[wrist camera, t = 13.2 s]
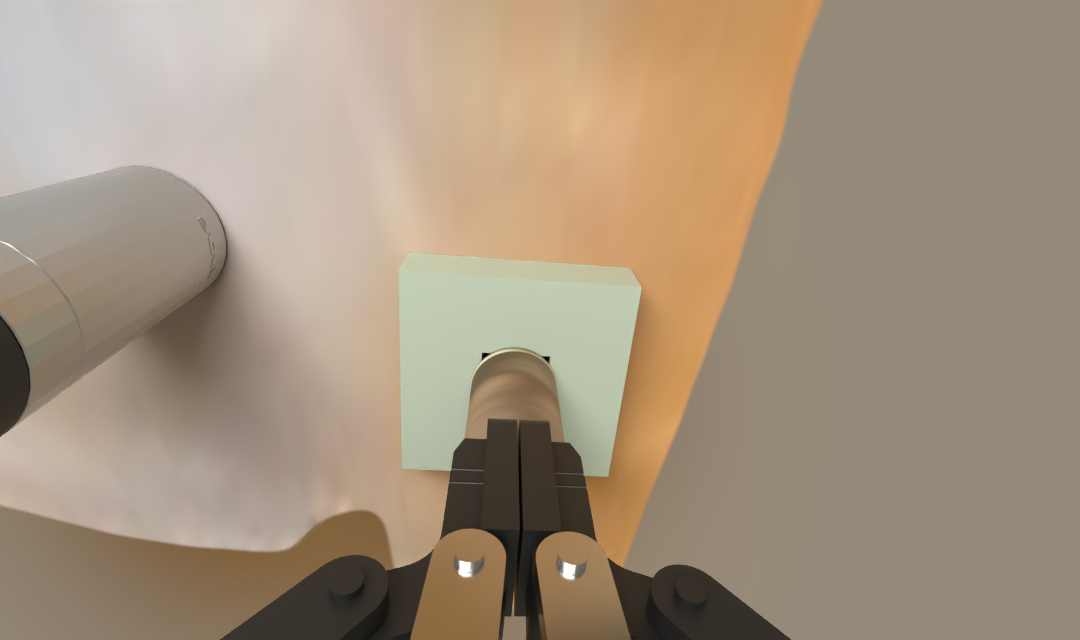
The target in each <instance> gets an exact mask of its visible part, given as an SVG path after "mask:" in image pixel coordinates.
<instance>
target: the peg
mask: <svg viewBox="0 0 1080 640" xmlns="http://www.w3.org/2000/svg"><path fill="white" fill-rule="evenodd" d="M470 389H471V392H470V400H469V409H468V417H467V425H466V433H465V438H472V439H487V424H488V418H495V419H517V426H519V420H541V421H549V423H550V431H551V440H552V442H564V435H563V428H562V421H561V415H560V408H559V401H558V394H557V383H556V377H555V373H554V371H553V369H552V367H551V366H550V364H549V363H548V362H547V361H546V360H545V359H544V358H543V357H542V356H540V355H539V354H537V353H535V352H534V351H531V350H528V349H524V348H518V347H510V348H504V349H500V350H497V351H494V352H492V353H491V354H489V355H487V356H486V357H485V358H484V359H483V360H481V362H480V363H479V364H478V365H477V367H476V368H475V370H474V372H473V375H472V379H471V386H470Z"/></svg>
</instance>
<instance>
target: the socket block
mask: <svg viewBox="0 0 1080 640" xmlns="http://www.w3.org/2000/svg"><path fill="white" fill-rule="evenodd" d="M641 289H642V287H641V285H640V283H639V282H638V280H637V279H636V277H635V275H634V274H633V272H632V270H631V269H630V268H626V267H612V266H598V265H583V264H569V263H555V262H541V261H527V260H513V259H498V258H484V257H470V256H456V255H442V254H428V253H413V252H409V253H408V255H407V257H406V259H405V260H404V262H403V264H402V266H401V268H400V269H399V322H400V383H401V445H402V469H418V470H444V471H451V466H452V460H453V453H454V451H455V449H456V448H457V447H458V446H459V444H460V443H461V442H462V441H463V439H464V438H465V433H466V425H467V417H468V409H469V400H470V392H471V389H470V386H471V379H472V375H473V372H474V370H475V368H476V367H477V365H478V364H479V363H480V362H481V360H483V353H492V352H494V351H497V350H500V349H504V348H510V347H518V348H524V349H528V350H531V351H534V352H535V353H537V354H539V355H540V356H544V359H545V360H546V361H547V362H548V363H549V364H550V366H551V367H552V369H553V371H554V373H555V377H556V383H557V394H558V401H559V408H560V415H561V421H562V428H563V435H564V442H567V443H570V444H571V445H572V446H573V447H574V449H575V450H576V451H577V452H578V454H579V455H580V456H581V460H582V466H583V471H584V476H600V477H608V475H609V469H610V464H611V458H612V452H613V447H614V441H615V436H616V430H617V424H618V419H619V413H620V408H621V402H622V396H623V391H624V385H625V379H626V374H627V368H628V363H629V357H630V351H631V346H632V340H633V334H634V329H635V323H636V318H637V312H638V306H639V301H640V295H641Z"/></svg>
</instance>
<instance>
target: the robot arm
mask: <svg viewBox="0 0 1080 640" xmlns="http://www.w3.org/2000/svg"><path fill="white" fill-rule="evenodd" d="M225 258H226V239H225V235H224V231H223V227H222V225H221V223H220V221H219V219H218V217H217V214H216V213H215V211H214V210H213V208H212V207H211V206H210V204H209V203H208V202H207V200H206V199H205V198H204V197H203V196H202V195H201V194H200V193H199V192H198V191H197V190H195V189H194V188H193V187H192V186H190V185H189V184H187V183H186V182H184V181H183V180H182V179H180V178H178V177H176V176H174V175H171V174H169V173H167V172H165V171H161V170H158V169H154V168H150V167H140V166H130V167H123V168H117V169H113V170H109V171H105V172H101V173H97V174H93V175H89V176H85V177H81V178H76V179H72V180H68V181H64V182H60V183H56V184H53V185H49V186H45V187H41V188H37V189H33V190H29V191H25V192H21V193H17V194H13V195H9V196H5V197H1V198H0V437H1V436H2V435H3V434H5V433H6V432H8V431H9V430H10V429H12V428H13V427H14V426H16V425H17V424H19V423H20V422H21V421H23V420H24V419H26V418H27V417H28V416H30V415H31V414H33V413H34V412H35V411H37V410H38V409H39V408H41V407H42V406H44V405H45V404H46V403H48V402H49V401H51V400H52V399H53V398H55V397H56V396H57V395H59V394H60V393H61V392H63V391H64V390H65V389H67V388H68V387H70V386H71V385H72V384H74V383H75V382H76V381H78V380H79V379H81V378H82V377H83V376H85V375H86V374H88V373H89V372H90V371H92V370H93V369H95V368H96V367H97V366H99V365H100V364H102V363H103V362H104V361H106V360H107V359H108V358H110V357H111V356H113V355H114V354H115V353H117V352H118V351H120V350H121V349H122V348H124V347H125V346H127V345H128V344H129V343H131V342H132V341H133V340H135V339H136V338H138V337H139V336H140V335H142V334H143V333H145V332H146V331H147V330H149V329H150V328H152V327H153V326H154V325H156V324H157V323H159V322H160V321H161V320H163V319H164V318H165V317H167V316H168V315H170V314H171V313H172V312H174V311H175V310H177V309H178V308H179V307H181V306H182V305H184V304H185V303H186V302H188V301H189V300H191V299H192V298H193V297H195V296H196V295H197V294H199V293H200V292H202V291H203V290H204V289H206V288H207V287H209V286H210V285H211V284H212V283H213V282H214V281H215V280H216V278H217V277H218V276H219V274H220V272H221V270H222V268H223V266H224V262H225ZM513 593H514V616H526V640H791V639H789V638H788V637H787V636H785V635H784V634H783V633H782V632H781V631H779V630H778V629H777V628H776V627H774V626H773V625H772V624H770V623H769V622H768V621H767V620H765V619H764V618H763V617H762V616H760V615H759V614H758V613H756V612H755V611H754V610H753V609H751V608H750V607H749V606H747V605H746V604H745V603H744V602H742V601H741V600H740V599H739V598H737V597H736V596H735V595H733V594H732V593H731V592H730V591H728V590H727V589H726V588H725V587H723V586H722V585H721V584H720V583H718V582H717V581H716V580H714V579H713V578H712V577H711V576H709V575H708V574H706V573H705V572H703V571H701V570H699V569H696V568H694V567H691V566H687V565H671V566H667V567H664V568H662V569H661V570H659V571H658V572H657V573H656V574H655V576H654V577H653V578H651V577H648V576H645V575H642V574H639V573H635V572H632V571H629V570H627V569H624V568H622V567H620V566H618V565H617V564H615V563H614V562H612V561H611V560H610V559H609V558H608V557H607V556H606V553H605V552H604V550H603V548H602V547H601V546H600V545H599V544H598V543H597V540H596V537H595V531H594V526H593V520H592V515H591V509H590V504H589V498H588V493H587V489H586V482H585V477H584V471H583V466H582V460H581V456H580V455H579V454H578V452H577V451H576V450H575V449H574V447H573V446H572V445H571V444H570V443H567V442H552V440H551V431H550V423H549V421H541V420H519V426H517V419H495V418H488V424H487V439H472V438H464V439H463V441H462V442H461V443H460V444H459V446H458V447H457V448H456V449H455V451H454V453H453V460H452V466H451V473H450V480H449V487H448V494H447V500H446V507H445V514H444V521H443V528H442V534H441V538H440V540H439V542H438V543H437V544H436V546H435V548H434V549H433V550H432V552H431V553H429V554H428V555H427V556H426V557H424V558H423V559H421V560H419V561H417V562H415V563H413V564H410V565H407V566H404V567H400V568H396V569H392V570H388V571H386V570H385V568H384V567H383V566H382V565H381V564H380V563H379V562H378V561H376V560H375V559H372V558H370V557H366V556H361V555H350V556H344V557H340V558H338V559H334V560H332V561H330V562H328V563H326V564H325V565H324V566H322V567H320V568H319V569H318V570H316V571H315V572H313V573H312V574H311V575H309V576H308V577H306V578H305V579H304V580H302V581H301V582H299V583H298V584H297V585H295V586H294V587H293V588H291V589H290V590H288V591H287V592H286V593H284V594H283V595H281V596H280V597H279V598H277V599H276V600H274V601H273V602H272V603H270V604H269V605H268V606H266V607H265V608H263V609H262V610H261V611H259V612H258V613H256V614H255V615H254V616H252V617H251V618H250V619H248V620H247V621H245V622H244V623H243V624H241V625H240V626H238V627H237V628H236V629H234V630H233V631H231V632H230V633H229V634H227V635H226V636H224V637H223V638H222V639H220V640H502V638H503V627H504V616H511V613H512V603H513Z"/></svg>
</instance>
